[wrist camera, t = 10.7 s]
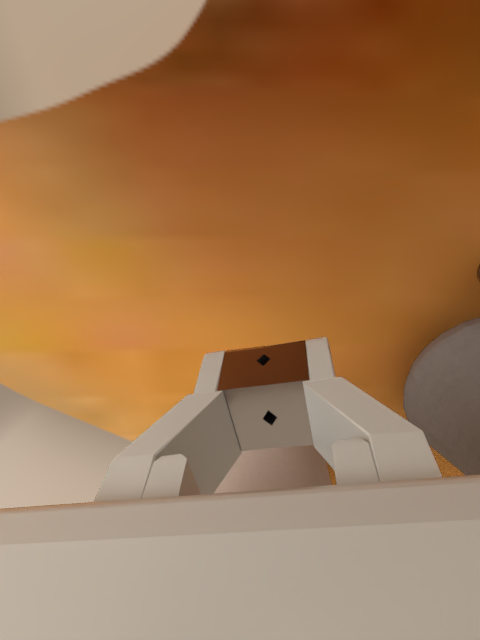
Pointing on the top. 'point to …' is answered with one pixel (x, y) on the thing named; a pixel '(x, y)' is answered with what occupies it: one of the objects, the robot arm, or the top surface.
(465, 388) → the coffee pot
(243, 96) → the top surface
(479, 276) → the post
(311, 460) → the coffee cup
